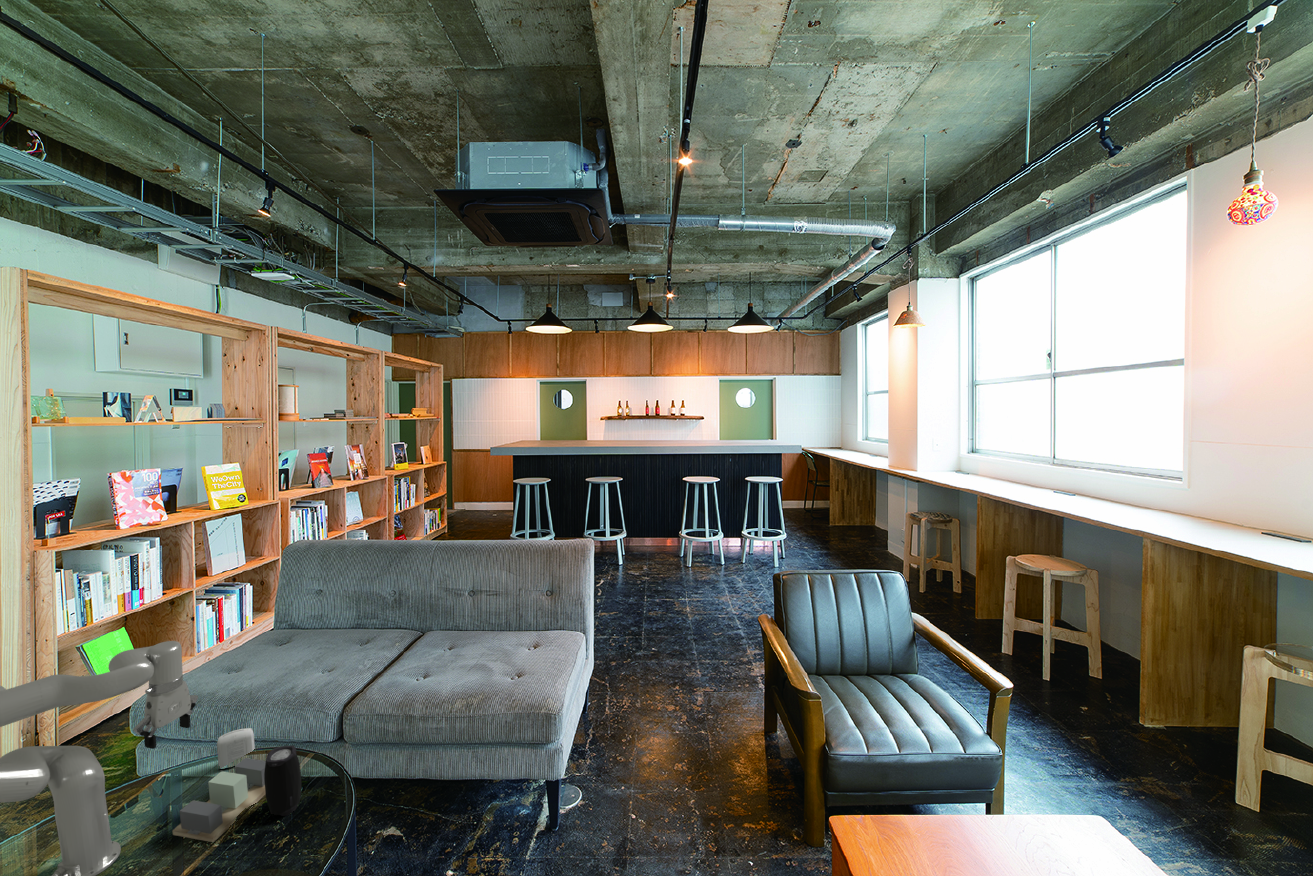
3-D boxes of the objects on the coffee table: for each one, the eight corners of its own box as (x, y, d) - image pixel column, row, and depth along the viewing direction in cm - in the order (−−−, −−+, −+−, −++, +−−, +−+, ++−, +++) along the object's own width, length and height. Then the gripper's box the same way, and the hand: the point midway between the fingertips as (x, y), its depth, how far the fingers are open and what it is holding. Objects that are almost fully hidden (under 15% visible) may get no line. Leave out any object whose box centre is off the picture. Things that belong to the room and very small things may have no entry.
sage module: (235, 808, 169) (233, 786, 168) (210, 804, 170) (208, 782, 169) (248, 797, 173) (246, 775, 172) (223, 793, 175) (221, 771, 173)
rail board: (213, 842, 159) (211, 820, 158) (172, 834, 161) (170, 812, 160) (280, 780, 183) (279, 760, 182) (244, 774, 185) (243, 754, 184)
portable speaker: (267, 805, 173) (262, 750, 170) (301, 792, 178) (297, 739, 175) (267, 824, 166) (262, 767, 163) (303, 810, 171) (299, 754, 168)
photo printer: (256, 754, 194) (253, 722, 193) (255, 761, 191) (252, 729, 189) (219, 765, 189) (216, 733, 187) (218, 773, 185) (214, 740, 183)
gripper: (144, 702, 152) (146, 758, 154) (205, 671, 169) (207, 721, 171) (122, 698, 154) (125, 753, 156) (186, 667, 171) (187, 717, 172)
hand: (168, 737), depth 163 cm, fingers open, 9 cm apart
